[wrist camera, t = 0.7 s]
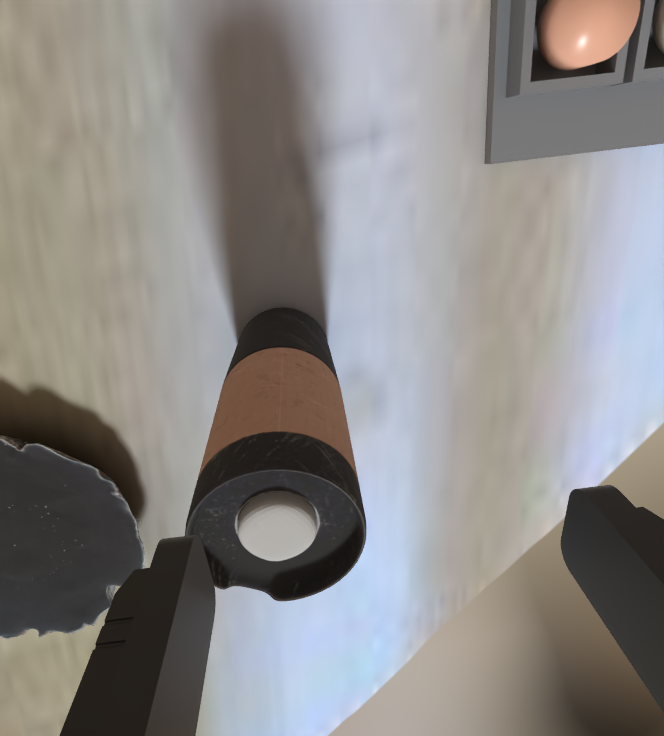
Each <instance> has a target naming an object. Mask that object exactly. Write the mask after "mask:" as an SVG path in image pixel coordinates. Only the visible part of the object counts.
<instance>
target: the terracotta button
mask: <svg viewBox="0 0 664 736" xmlns="http://www.w3.org/2000/svg"><path fill="white" fill-rule="evenodd" d="M639 12H640V0H547V2H546V3H545V5H544V7H543V9H542V11H541V14H540V17H539V21H538V26H537V43H538V48H539V51H540V53H541V55H542V57H543V59H544V60H545V61H546V62H547V64H549V65H550V66H551V67H553V68H555V69H558V70H562V71H570V70H574V69H578V68H581V67H585V66H588V65H592V64H595V63H599V62H602V61H604V60H606V59H608V58H610V57H612V56H613V55H614V54H616V53H617V52H618V51H619V50H620V49H621V48H622V47H623V46H624V45H625V43H626V42H627V41H628V39H629V38H630V36H631V34H632V32H633V30H634V28H635V26H636V23H637V20H638V16H639Z"/></svg>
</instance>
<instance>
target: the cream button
mask: <svg viewBox="0 0 664 736" xmlns="http://www.w3.org/2000/svg"><path fill="white" fill-rule="evenodd" d="M652 30H653V37H654V41H655V43H656V45H657V47H658V48H659V50H660V51H661V52H662V53H663V54H664V0H658V3H657V5H656V8H655V11H654V16H653V23H652Z"/></svg>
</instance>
